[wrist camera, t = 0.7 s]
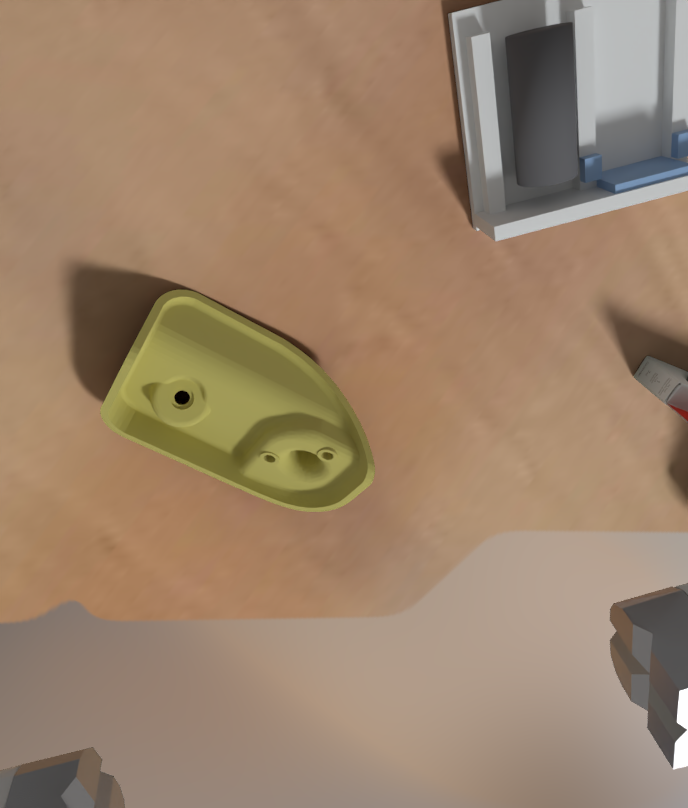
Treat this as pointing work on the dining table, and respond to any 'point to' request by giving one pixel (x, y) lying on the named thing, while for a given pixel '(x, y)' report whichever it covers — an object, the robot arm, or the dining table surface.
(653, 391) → the ink box
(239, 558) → the dining table surface
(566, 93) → the gray roller in tray
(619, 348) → the dining table surface
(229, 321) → the plastic component
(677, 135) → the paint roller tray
